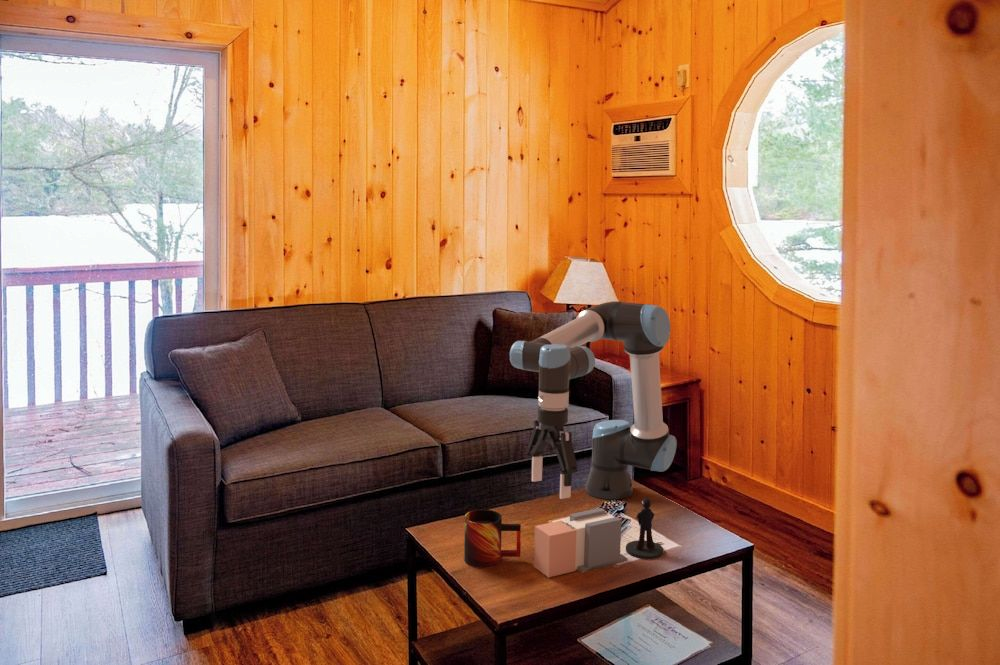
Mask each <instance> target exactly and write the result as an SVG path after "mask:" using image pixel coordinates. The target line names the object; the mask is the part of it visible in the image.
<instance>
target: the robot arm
mask: <svg viewBox="0 0 1000 665" xmlns="http://www.w3.org/2000/svg"><path fill="white" fill-rule="evenodd" d="M670 321H671V320H670V317H669V314H668V312H667V310H666V309H664V308H663V307H662V306H659V305H653V304H652V303H651V304H650V303H636V302H626V301H616V300H615V301H607V302H603V303H600V304H599V303H598V304H596V305H594V306H591V307H588V308H586V309H584V310H583V311H581V312H579V313H578V315H577V316H576V318H575V319H573V320H571V321H569V322H566V323H565V324H563V325H561V326H559V327H557V328H555V329H553V330H552V331H549V332H546V333H545V334H543V335H542V336H539V337H537V338H536V339H533V340H532V341H527V340H517V341H515V342H514V343H512V345H511V347H510V350H509V361H510V364H511V366H512V367H513V368H514V369H520V370H523V371H530V372H536V373H537V372H538V396H537V399H538V400H537V402H538V403H537V405H538V406H539V407H538V408H537V419H536V420H535V419H534V422H533V430H532V432H531V435H530V438H529V441H528V444H527V448H526V451H527V452H529V453H530V456H531V482H534V483H535V482H540V481H541V482H542V480H543V451H544V450H545V448H546V447H547V445H548V444H549V445H550V446H551V448H552V449H553V450H554V452H555V454H556V457H557V459H558V461H559V462H558V463H559V465H560V468H561V470H562V471H560V472H559V473H560V476H559V499H560V500H563V499H569V498H571V495H572V494H571V492H572V490H571V489H572V482H573V481H572V480H573V479H572V478H573V474H574V473H578V472H579V469H578V464H577V459H576V455H575V450H574V445H573V441H572V440H573V439H572V432H571V431H564V430H565V429H564V426H565V425H566V424H567V423H568V422H569V409H568V407H569V406H570V405H569V404H570V401H569V400H570V399H569V397H570V395H569V394H570V391H569V390H570V388H569V387H570V380H573V379H576V378H579V377H581V378H582V377H584V376H586V375H587V374H589V373H590V372H592V371H593V370H594V367H595V364H596V358H595V357H596V356H595V353H594V352H593V351H592V350H591V348H589V347H587V346H583V345H585V344H587V343H588V342H591V343H592V342H597V341H599V340H610V341H617V342H618V341H619V342H622V343H623V350H624V352H625V353H626V354H628V355H629V364H630V365H629V366H630V376H631V377H630V378H631V379H630V380H631V391H632V392H631V393H632V405H633V418H634V423H633V424H632V425H631V423H630V421H628V420H624V419H610V420H609V419H608V420H603V421H600V422H597V423H596V424H595V425H594V426H593V432H592V437H591V438H592V446H591V447H592V448H591V449H592V450H591V452H592V453H591V468H590V471H589V474H588V477H587V480H586V482H585V493H587V494H588V495H589V496H591V497H594V498H597V499H602V500H623V499H626V498H629V497H631V496H632V495H633V490H634V489H633V488H634V486H633V482H632V479H631V475H630V472H629V466H632V467H636V468H640V469H645V470H650V471H651V472H653V471H654V472H660V473H661V472H662V473H663V472H665V471H667V470H668V469H669V468H670V466H671V465H672V463H673V460H674V457H675V455H676V451H677V443H678V442H677V438H676V437H675V436H674V435H672V434H670V433H669V432H670V431H669V427H668V424H666V423H665V422H664V421H663V420H664V419H663V403H662V386H661V383H662V381H661V366H660V365H661V364H660V353H661V352H662V351H663V350H664V348H665V346H666V345H667V344H668V342H669V339H670V333H671V322H670Z"/></svg>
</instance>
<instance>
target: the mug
mask: <svg viewBox="0 0 1000 665" xmlns="http://www.w3.org/2000/svg"><path fill="white" fill-rule="evenodd" d="M502 520H503V516H502V514H501V513H499V512H498V511H496V510H491V509H476V510H471V511H468V512H467V513H465V515H464V546H463V547H464V551H463V552H464V554H463V557H464V558H463V560H464V563H465V564H466V565H467V566H470V567H473V568H477V569H488V568H493V567H497V566H498V565H500V564H501V562H502V558H521V548H522V547H521V546H522V545H521V544H522V543H521V534H522V533H521V531H522V530H521V529H522V528H521V523H503V522H502ZM502 532H516V549H502Z"/></svg>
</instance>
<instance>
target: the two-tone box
mask: <svg viewBox="0 0 1000 665" xmlns="http://www.w3.org/2000/svg"><path fill="white" fill-rule="evenodd" d="M564 523H566V524H568V525H569V526H571V527H572V528H574V529H575V530H576V556H575V571H576V570H578V571H579V572H580V573H585V572H589V571H593V570H598V569H601V568H605V567H609V566H610V567H611V566H613V565H617V564H621V563H625V562H628V557H626V556H625V555H623V554H622V553H621V544H622V543H621V540H622V519H621V518H620V517H618V516H614V515H612V514H611V513H609V512H608V513H606V510H605V509H604V508H602V507H599V508H593V509H589V510H584V511H579V512H575V513H571V514H569V521H566V522H565V521H564Z"/></svg>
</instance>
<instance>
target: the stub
mask: <svg viewBox="0 0 1000 665" xmlns="http://www.w3.org/2000/svg"><path fill="white" fill-rule="evenodd" d="M533 543H534V544H533V545H534V546H533V547H534V548H533V549H534V550H533V567H534V568H535V569H536V570H538V571H539V572H541V573H542V574H543V575H544V576H546V577H547V578H553V577H557V576H560V575H563V574H569V573H572V572H575V571H576V570H575V556H576V530H575V529H574V528H572V527H571V526H569V525H568V524H566V523H565V521H563V520H557V521H552V522H548V523H543V524H537V525H534V541H533Z"/></svg>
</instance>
